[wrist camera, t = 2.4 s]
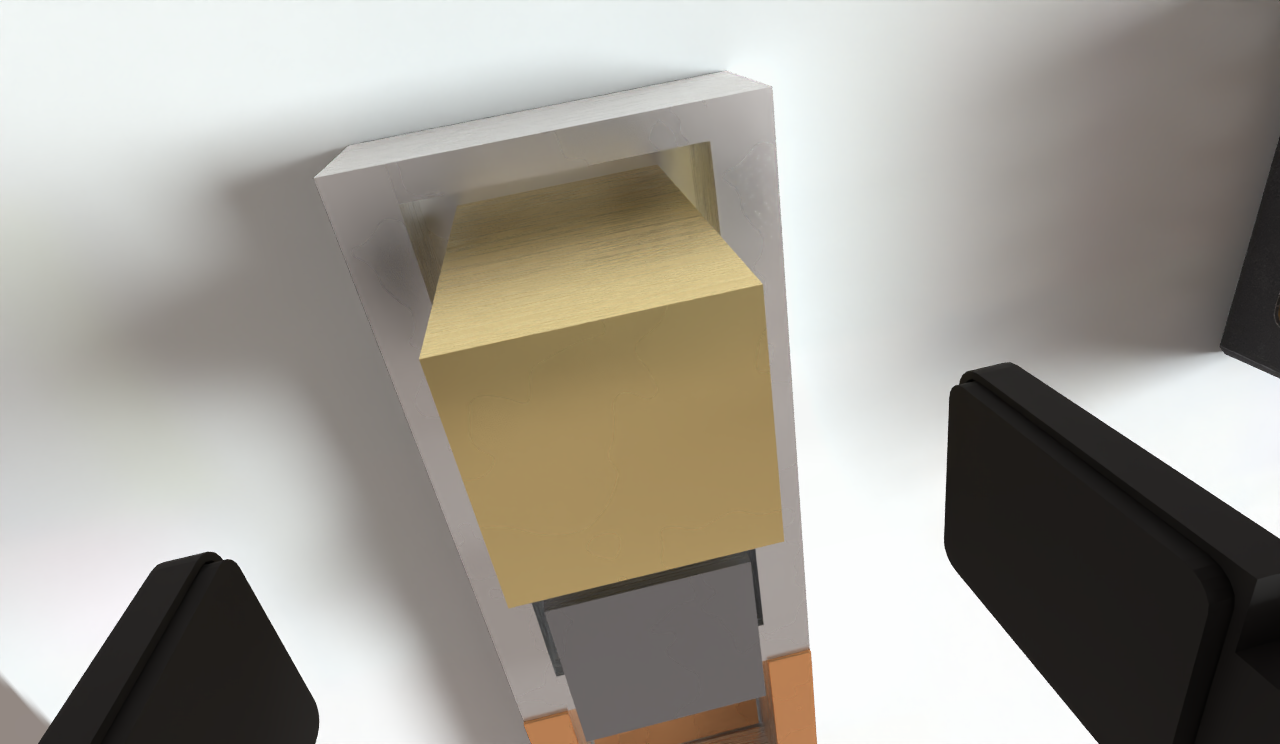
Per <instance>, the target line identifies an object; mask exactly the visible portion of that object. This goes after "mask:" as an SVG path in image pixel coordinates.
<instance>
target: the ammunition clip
mask: <svg viewBox="0 0 1280 744" xmlns="http://www.w3.org/2000/svg"><path fill="white" fill-rule="evenodd" d="M1220 347H1221V349H1222V350H1223V352H1224V353H1225V354H1226V355H1229V356H1231V357H1233V358H1235V359H1238V360H1240V361H1242V362H1244V363H1247V364H1249V365H1251V366H1253V367H1255V368H1258V369H1260V370H1262V371H1264V372H1267V373H1269V374H1271V375H1273V376H1276V377H1278V378H1280V137H1279V141H1278V144H1277V148H1276V151H1275V155H1274V158H1273V162H1272V165H1271V169H1270V172H1269V176H1268V179H1267V183H1266V186H1265V190H1264V193H1263V197H1262V200H1261V204H1260V207H1259V211H1258V214H1257V218H1256V222H1255V225H1254V229H1253V232H1252V236H1251V239H1250V243H1249V246H1248V250H1247V253H1246V257H1245V260H1244V264H1243V267H1242V271H1241V274H1240V278H1239V281H1238V285H1237V288H1236V292H1235V295H1234V299H1233V302H1232V306H1231V309H1230V313H1229V316H1228V320H1227V323H1226V327H1225V330H1224V334H1223V337H1222V341H1221V344H1220Z"/></svg>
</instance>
